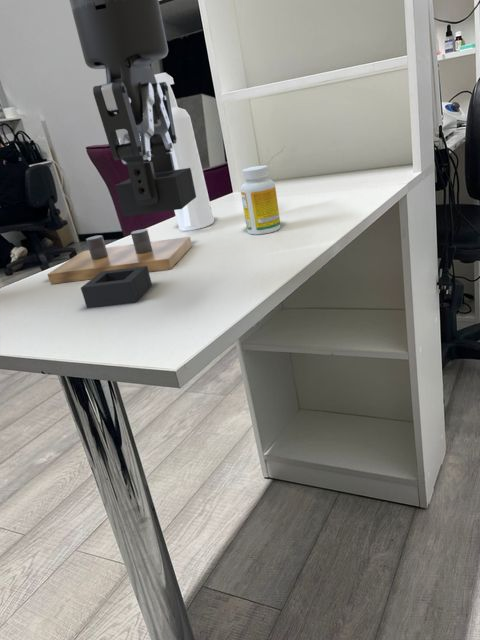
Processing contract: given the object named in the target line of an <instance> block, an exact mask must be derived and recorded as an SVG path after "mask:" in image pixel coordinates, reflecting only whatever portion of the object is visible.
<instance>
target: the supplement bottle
mask: <svg viewBox="0 0 480 640" xmlns="http://www.w3.org/2000/svg"><path fill="white" fill-rule="evenodd" d="M241 173H242V179H243V180H244V183H243V184H241V187H240V196H241V202H242V207H243V213H244V220H245V226H246V230H247V233H248V234H250V235H255V236H256V235H265V234H270V233H275V232H277V231H278V230H280V228H281V219H280V218H281V217H280V211H279V203H278V197H277V196H278V195H277V190H276V184H275V181H274V180H273V179H271V178H269V175H270V171H269V166H268V165H255V166H250V167H246V168H243V169H242V170H241Z"/></svg>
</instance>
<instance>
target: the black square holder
mask: <svg viewBox="0 0 480 640" xmlns="http://www.w3.org/2000/svg"><path fill="white" fill-rule="evenodd" d="M155 177H156V182H157V187H158V191H159V195H160V200H159V202H157V203H156V204H151V205H144V206H140V205H138V204H137V203H136V200H135V196H134V192H133V188H132V184H131V180H130V178H128V179H125V180H124V181H121V182H119V183H117V184H115V185H114V187H115V191H116V195H117V199H118V203H119V207H120V210H121V214H122V217H123V218H124V217H125V218H126V217H132V216H139V215H146V214H153V213H161V212H169V211H174V210H178V209H182V208H184V207H185V206H186V205H187V204H188V203H189V202H191V201H192V200H193V199H195V198H196V193H195V188H194V183H193V178H192V173H191V168H186V169H179V170H172V171H165V172H158V173H155Z"/></svg>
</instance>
